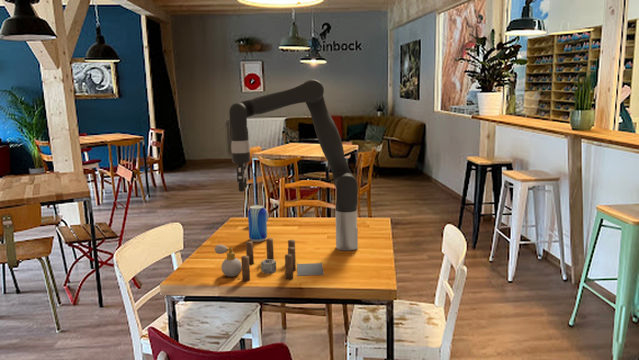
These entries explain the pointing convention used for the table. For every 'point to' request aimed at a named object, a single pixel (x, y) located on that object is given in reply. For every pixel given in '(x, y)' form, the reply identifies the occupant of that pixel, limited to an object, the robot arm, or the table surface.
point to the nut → (268, 266)
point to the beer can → (257, 223)
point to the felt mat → (309, 269)
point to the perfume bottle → (229, 261)
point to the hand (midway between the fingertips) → (242, 189)
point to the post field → (249, 258)
